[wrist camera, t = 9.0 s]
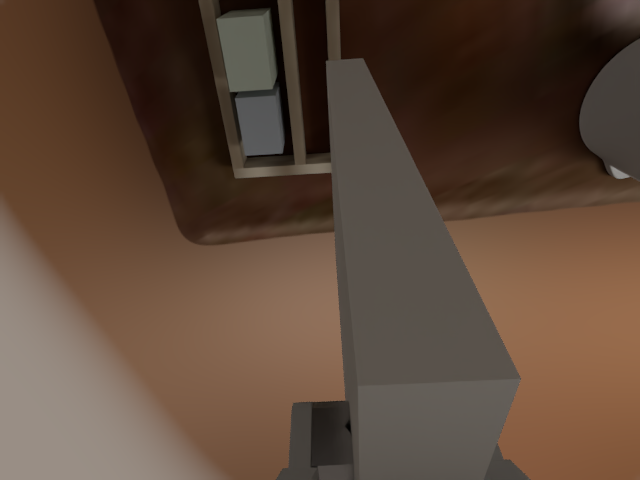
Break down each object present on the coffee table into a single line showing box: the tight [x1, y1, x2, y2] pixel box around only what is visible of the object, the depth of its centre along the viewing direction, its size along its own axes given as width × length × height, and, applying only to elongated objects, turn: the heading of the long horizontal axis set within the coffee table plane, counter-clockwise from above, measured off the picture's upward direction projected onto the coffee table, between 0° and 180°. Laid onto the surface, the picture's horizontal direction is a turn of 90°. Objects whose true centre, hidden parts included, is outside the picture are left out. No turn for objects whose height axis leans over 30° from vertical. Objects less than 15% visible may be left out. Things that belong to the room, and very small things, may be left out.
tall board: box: [326, 58, 521, 480], centre depth 15 cm, size 2×12×18 cm, turn 4°
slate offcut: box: [235, 82, 286, 156], centre depth 43 cm, size 4×6×6 cm, turn 3°
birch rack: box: [198, 0, 341, 178], centre depth 41 cm, size 13×20×3 cm, turn 4°
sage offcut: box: [216, 8, 278, 92], centre depth 38 cm, size 4×6×7 cm, turn 4°
